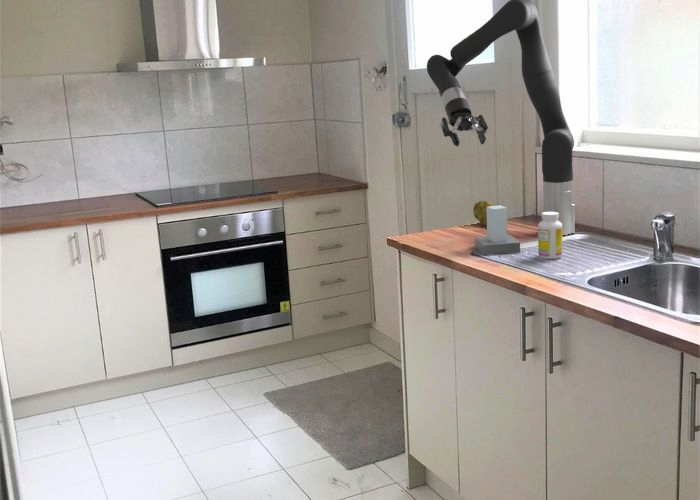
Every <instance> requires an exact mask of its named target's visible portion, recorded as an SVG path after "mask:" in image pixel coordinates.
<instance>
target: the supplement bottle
mask: <svg viewBox="0 0 700 500" xmlns="http://www.w3.org/2000/svg"><path fill="white" fill-rule="evenodd" d="M558 217H559V213H557V212H543V211H542V212H541V221H540V222H539V223H538V225H537V227H538V228H537V233H538V234H537V237H538V238H537V242H538V247H537V248H538V249H537V250H538V251H537V252H538V257H539V258H541V259H544V260H558V259H561V257H563V236H562V223H561V222H559V221H558Z"/></svg>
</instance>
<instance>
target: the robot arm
mask: <svg viewBox="0 0 700 500" xmlns="http://www.w3.org/2000/svg"><path fill="white" fill-rule="evenodd" d="M514 31H515V32H516V34H517V38H518V41H519V44H520V49H521V50H520V51H521V75H522V79H523V83H524V86H525V89H526V91H527V95H528V97H529V99H530V102H531V103H532V105H533V107H534V109H535V111H536V113H537V115H538V118H539V121H540V123H541V127H542V134H543V140H542V143H541V173H542V213H543V212H557V213H559V217H558V221H559V222H561V223H562V237H564V236H563V235H565V236H569V235H568V234H570V235H572V234H571V233H575V231H576V230H575V229H576V228H575V223H576V222H575V221H576V220H575V218H576V205H575V204H574V203H573V202H574V201H573V200H574V194H573V193H574V191H573V190H574V171H573V170H574V169H573V150H574V146H575V140H574V136H573V134H572V132H571V130H570V128H569V126H568V123H567V120H566V117H565V115H564V112H563V107H562V104H561V103H562V101H561V97H560V94H559V93H560V92H559V89H558V84H557V81H556V76H555V73H554V71H553V67H552V65H551V61H550V58H549V54H548V51H547V48H546V45H545V42H544V38H543V34H542V30H541V25H540V18H539V13H538V9H537V7H536V5H535V3H534V2H533V1H532V0H508V1H507V2H506V3H505V4H504V5H503V6H501V8H500V9H498V11H496V13H495V14H494V15H493V16H492V17H491V18H489V20H488V21H487V22H485V23H484V24H483V25H482V26H481V27H479V28H478V29H476V30H475V31H474V32H472V33H470V34H469V35H468V36H466V37H465V38H463V39H462V40H461V41H460V42H458V43H457V44H455V45H454V46H452V48H451V49H450V52H449V54H450V57H451V59H448V58H446V57H445V56H443V55H440V54H434V55H431V56H430V57H429V58H428V60H427V62H426V72H427V74H428V76H429V78H430V79H431V81H432V82H433V84H434V85H435V87H436V88H437V89H438V93H439V96H440V98H441V101H442V105H443V108H444V111H445V113H446V116H447V118H446V117H441V120H440V127H441V130H442V133H443V136H444V137H445V138H446V137H450V138H451V142H452V144H453V145H454V146H455V147H459V146H460V140H459V137H458V134H457V131H459V132H463V131H466V132H467V131H470V132H471V133H475V134H476V135H477V138H478V140H479V142H480V145H484V144H485V142H486V140H487V137H486V135H485V134H486V133H487V131H488V129H489V126H488V124H487V122H486V121H485V118H484V117H483V115H482V114H479V115H478V116H474V115H473V113H472V110H471V107H470V105H469V102H468V100H467V98H466V95H465V93H464V92H463V90H462V87H461V85H460V82H459V80H458V79H457V78H456V76H458V75H459V73H460V72H461V71H462V70H463V69H464V67H465V66H466V65H467V64H469V63H470V62H471V61H473V60H474V59H476V58H477V57H478V56H480V55H482V53H484V51H486V50H487V48H489V47H490V46H491V45H492V44H493V43H494V42H496V41H497V40H498V39H500V38H501V37H504V36H505V35H507V34H509V33H511V32H514ZM449 125H450V126H452V130H451V129H450V128H449ZM472 126H473V127H472Z"/></svg>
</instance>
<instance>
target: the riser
mask: <svg viewBox="0 0 700 500" xmlns="http://www.w3.org/2000/svg"><path fill="white" fill-rule="evenodd" d="M474 248H476V250H478V251H479V250H480V251H481V252H482V253H483V254H493V255H503V254H516V253H518V254H519V253H521V242H520V241H519V240H518V239H517V238H515V237H513V236H512V235H511V234H507V241H499V242H492V241H490V240H488V239H487V235H486V236H474ZM480 251H479V252H480ZM481 252H480V253H481ZM482 253H481V254H482ZM483 254H482V255H483Z"/></svg>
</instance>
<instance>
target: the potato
mask: <svg viewBox="0 0 700 500" xmlns="http://www.w3.org/2000/svg"><path fill="white" fill-rule="evenodd" d="M489 206H495V205H493V204H492V203H491V202H490V201H487V200H480V201H478V202H476V203H475V204H474V205H473V208H472V209H473V211H472V212H473V216H474V218H475V219H476V220H478V222H479V223H480V225H481V226H483V227H484V226H485V227H487V207H489Z"/></svg>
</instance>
